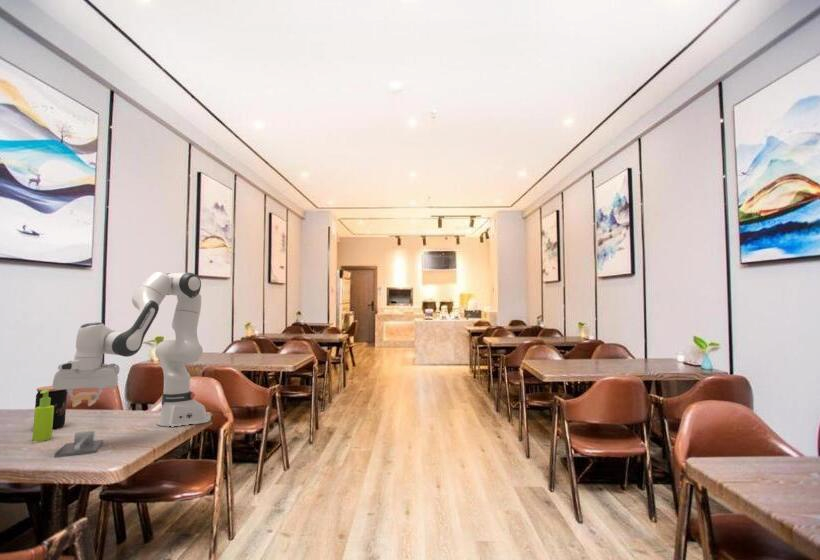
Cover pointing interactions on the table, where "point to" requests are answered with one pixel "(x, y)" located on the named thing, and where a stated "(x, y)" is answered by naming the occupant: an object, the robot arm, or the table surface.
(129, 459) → the table surface
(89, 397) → the lock block
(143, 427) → the table surface
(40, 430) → the soap dispenser
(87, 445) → the dock plate
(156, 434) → the table surface
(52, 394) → the coffee jar
